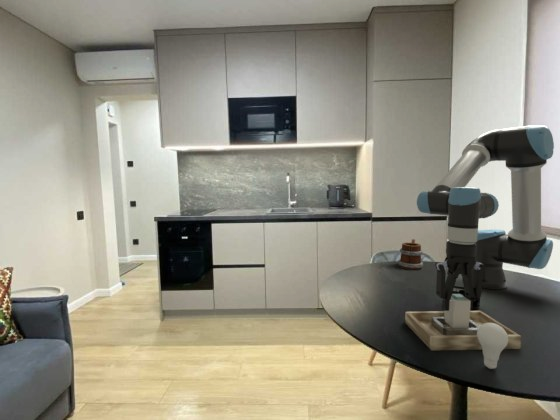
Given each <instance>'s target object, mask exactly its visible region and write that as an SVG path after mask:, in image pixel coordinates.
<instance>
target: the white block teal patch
mask: <svg viewBox="0 0 560 420" xmlns="http://www.w3.org/2000/svg"><path fill="white" fill-rule="evenodd" d="M451 300H452V301H453V312H452V323H449V322H448V321H446V320H445V322H446V323H447V324H449V325H450V326H451V327H452V328H469V314H470V300H468V299H466V298H465V297H464V296H463V295H461V294H452V296H451Z"/></svg>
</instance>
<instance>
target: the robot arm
mask: <svg viewBox="0 0 560 420" xmlns="http://www.w3.org/2000/svg"><path fill="white" fill-rule="evenodd" d="M554 148H555V143H554V137H553V134H552V132H551V129H550V128H549V127H547V126H546V125H543V124H541V125H539V124H537V125H524V126H517V127H516V126H515V127H508V128H499V129H494V130H493V129H492V130H490V131H487V132H485V133H483V134H481V135H479V136H477V137H476V138H474V139H473V140H472V141H470V142H469V143H468V144H467V145H466V146H465V148H464V149H463V150H462V153H461V156H460V157H459V159H457V161H456V162H455V163H454V164H453V166H451V168H450V169H449V171H448V172H446V174H445V175H444V176H443V177H442V179H440V181H439V182H438V183H437V184H436V186H435V187H434V188H433V189H432V190H425V191H421V192H419V194H418V195H417V197H416V206H417V207H416V208H417V210H418V211H419V212H421V213H423V214H428V215H429V214H430V215H438V216H441V215H442V216H447V226H446V227H447V228H446V229H447V232H446V240H447V241H446V243H445V245H446V246H445V253H446V256H445V259H444V261H441V262H435V264H434V265H435V269H436V285H435V286H436V287H435V288H436V289H435V293H436V296H437V297H439V298H441V299H442V305H441V308H442V309H443V311H445V312H444V319H445V320H446V321H448V322H449V323H452V312H453V301H452V300H451V296H452V293H453V289H454V286H456V282H457V279H458V278H459V275H461V279H462V283H463V284H462V285H463V287H464V291H465V296H466V299H468V300H470V310H472V309H473V301H476V298H480V299H481V297H482V289H489V290H501V289H502V290H504V289H506V288H507V278H506V276H505V272H504V268H503V266H504V265H503V264H506V265H507V264H508V265H514V266H519V267H523V268H528V269H534V270H535V269H536V270H542V269H544V268H546V266H547V265H548V263H549V261H550V259H551V256H552V252H553V249H554V242H553V240H552V239H549V238H548V239H547V237H548V236H547V233H546V232H545V231H543V229H542V168H543V167H544V166H545V165H547V162H548V161H547V160H549V159H552V158H553V155H554ZM495 161H499V162H500V161H504V162H505V167H506V168H507V169H509V170H510V180H511V181H510V183H511V184H510V185H511V186H510V187H511V217H512V220H511V221H512V222H511V223H512V229H511V230H509V231H508V232H507V234H506V231H505V230H504V229H479V219H486V218H489V217H491V216H494V214H496V212H498V210H499V206H500V205H499V201H498V199H497V197H496V196H494V195H493V194H491V193H488V192H481V189H480V188H479V187H476V186H474V187H471V186H468V184H469V183H470V182H471V180H473V178H474V176H476V174H477V172H478V171H479V170H480V169H481V168H483V167H485V166H486V165H487V164H488V163H490V162H495ZM447 268H448V269H447ZM446 270H447V273H446ZM446 274H447V276H446ZM469 320H470V314H469Z"/></svg>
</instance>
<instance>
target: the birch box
mask: <svg viewBox="0 0 560 420" xmlns="http://www.w3.org/2000/svg"><path fill="white" fill-rule="evenodd" d="M444 312H445V310H441V311H439V310H438V311H437V310H436V311H435V310H434V311H433V310H429V311H405V314H404V315H405V317H404V323H405V324H406V325H407V327H408V328H410V329H411V330H412V331H413V333H414V334H415V335H416V336H417V337H418V338H419V339H420V340H421V341H422V342H423V343H424V345H426V347H428V349H430V351H472V350H474V351H475V350H477V351H478V350H479V351H481V350H482V351H483V349H482V346H481V344H480V342H479V340H478V337H477V335H450V336H445V335H442V334H441V333H440V332H439V331H438V330H436V329H435V328H434V327H433V326H432V323H431V322H432V317H444ZM470 319H471V320H472V321H474V322H475V323H477V324H478V325H480V326H481V325H482V324H484V323H495V324H497V325H499V326H501V327H502V328H503V329H504V330H505V331H506V333H507V335H508V344H507V346H506V347H505V348H504V349H503V350H521V347H522V335H520V334H518V333H517V332H515V331H514V330H513V329H511V328H509V327H508V326H506V325H504V324H503V323H501V322H500V321H498V320H497V319H494V318H493V317H492V316H489V315H488V314H487V313H485V312H483V310H478V311H470ZM444 326H445V327H446V328H452V327H451V326H450V325H444Z"/></svg>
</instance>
